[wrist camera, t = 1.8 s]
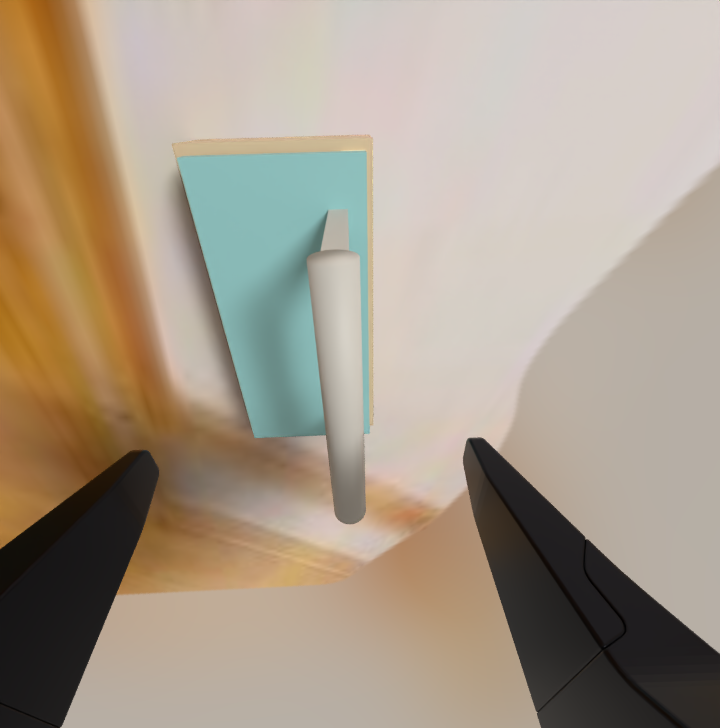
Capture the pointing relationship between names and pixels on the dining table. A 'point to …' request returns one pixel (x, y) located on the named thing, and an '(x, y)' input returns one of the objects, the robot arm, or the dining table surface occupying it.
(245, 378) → the lid flap
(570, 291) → the dining table surface
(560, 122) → the dining table surface
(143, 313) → the dining table surface
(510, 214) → the dining table surface
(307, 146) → the carton
